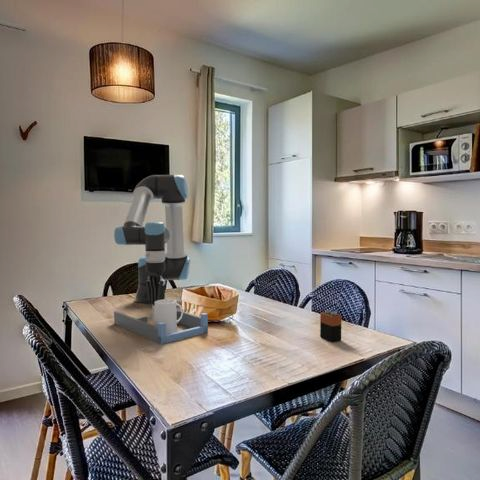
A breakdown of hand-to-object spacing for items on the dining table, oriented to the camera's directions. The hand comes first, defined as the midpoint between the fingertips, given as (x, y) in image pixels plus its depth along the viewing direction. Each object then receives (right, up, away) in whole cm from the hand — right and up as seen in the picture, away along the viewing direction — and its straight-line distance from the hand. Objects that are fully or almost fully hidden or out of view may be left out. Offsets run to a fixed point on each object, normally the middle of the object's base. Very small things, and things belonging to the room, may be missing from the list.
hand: (156, 320), depth 156 cm
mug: (+7, -3, -7) cm, 10 cm away
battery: (+65, -3, -16) cm, 67 cm away
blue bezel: (+13, -3, -14) cm, 19 cm away
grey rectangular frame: (+1, -3, -1) cm, 3 cm away
